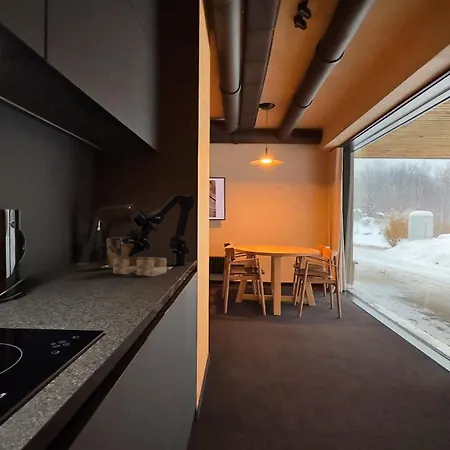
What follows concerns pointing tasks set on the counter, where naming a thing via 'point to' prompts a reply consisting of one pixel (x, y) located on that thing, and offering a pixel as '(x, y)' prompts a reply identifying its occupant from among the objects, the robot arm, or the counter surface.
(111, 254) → the coffee box
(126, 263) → the tunnel deck
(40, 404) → the counter surface
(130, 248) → the walnut block
